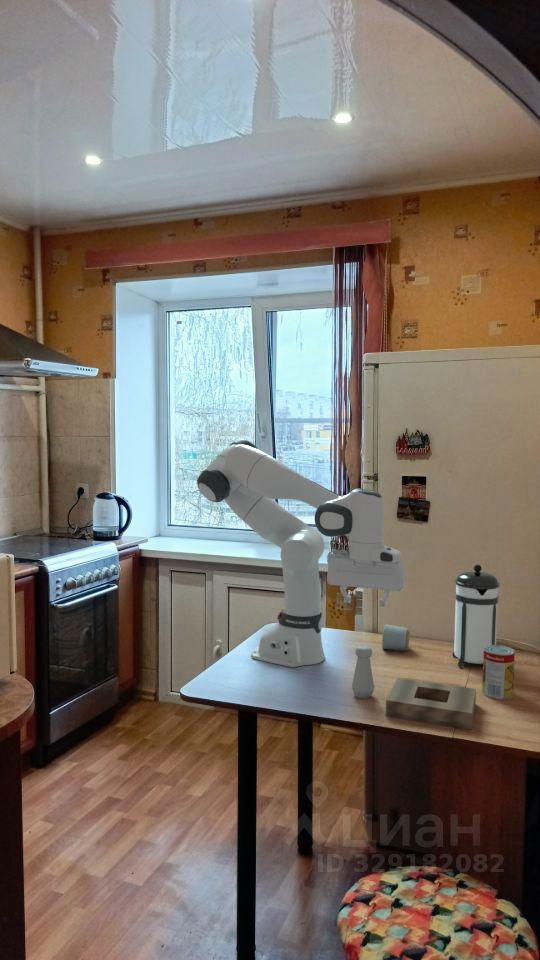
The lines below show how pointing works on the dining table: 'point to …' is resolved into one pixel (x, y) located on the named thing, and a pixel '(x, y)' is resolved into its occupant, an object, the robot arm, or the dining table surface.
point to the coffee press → (475, 615)
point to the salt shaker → (363, 673)
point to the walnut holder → (432, 703)
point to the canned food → (498, 672)
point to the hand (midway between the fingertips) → (365, 604)
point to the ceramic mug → (395, 638)
